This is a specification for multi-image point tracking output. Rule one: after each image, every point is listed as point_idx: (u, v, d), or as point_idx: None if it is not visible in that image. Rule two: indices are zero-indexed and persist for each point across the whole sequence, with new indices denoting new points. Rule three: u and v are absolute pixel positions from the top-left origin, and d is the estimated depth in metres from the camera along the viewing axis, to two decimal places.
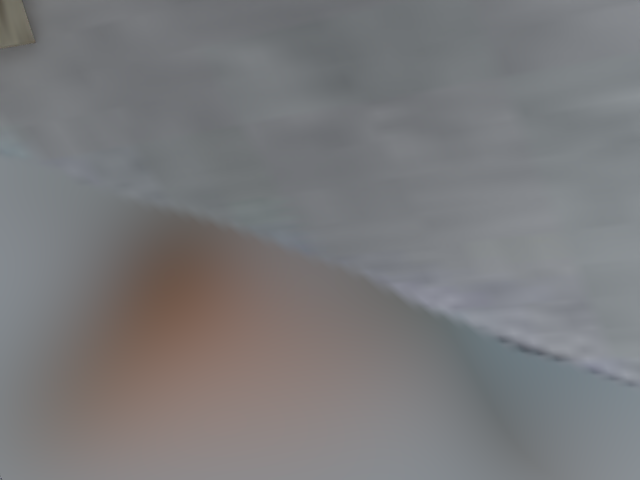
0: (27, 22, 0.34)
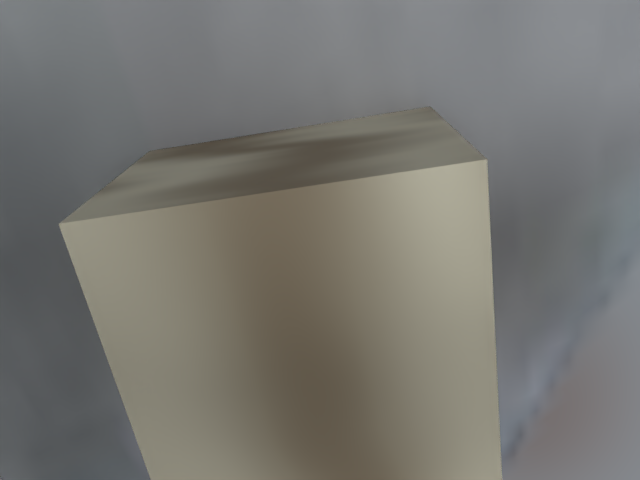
0: (388, 114, 0.15)
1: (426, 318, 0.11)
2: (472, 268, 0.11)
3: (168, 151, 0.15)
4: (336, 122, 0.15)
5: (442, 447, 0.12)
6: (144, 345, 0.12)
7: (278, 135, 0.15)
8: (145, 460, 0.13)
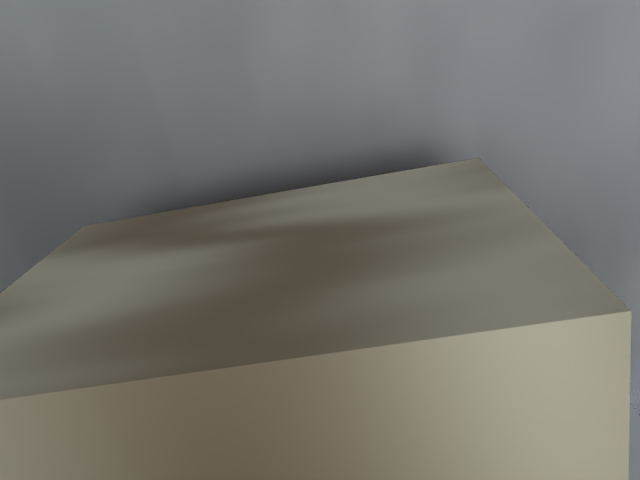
0: (419, 173, 0.10)
1: None
2: None
3: (103, 231, 0.11)
4: (343, 185, 0.11)
5: None
6: None
7: (258, 207, 0.10)
8: None
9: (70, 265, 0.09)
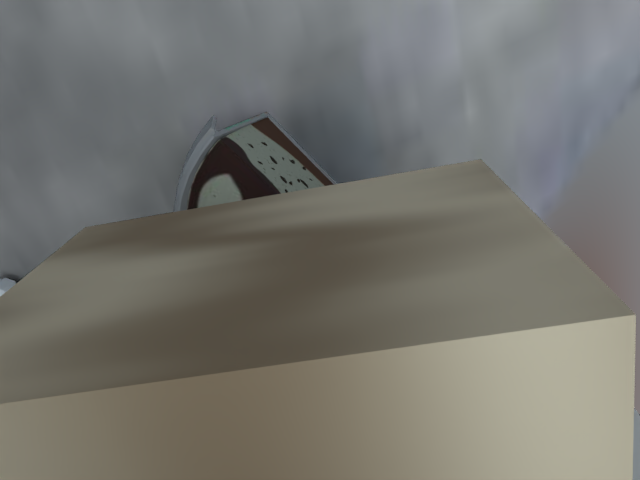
0: (420, 174, 0.10)
1: None
2: None
3: (105, 232, 0.11)
4: (345, 186, 0.11)
5: None
6: None
7: (260, 209, 0.10)
8: None
9: (71, 267, 0.09)
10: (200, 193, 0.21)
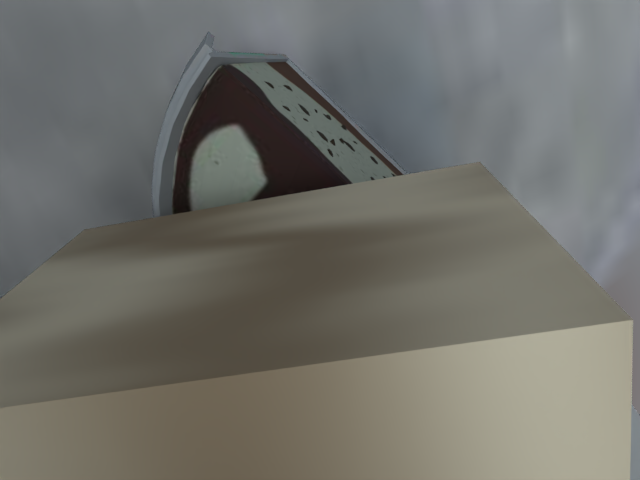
0: (419, 177, 0.10)
1: None
2: None
3: (104, 235, 0.11)
4: (344, 189, 0.11)
5: None
6: None
7: (259, 212, 0.10)
8: None
9: (71, 270, 0.09)
10: (193, 159, 0.13)
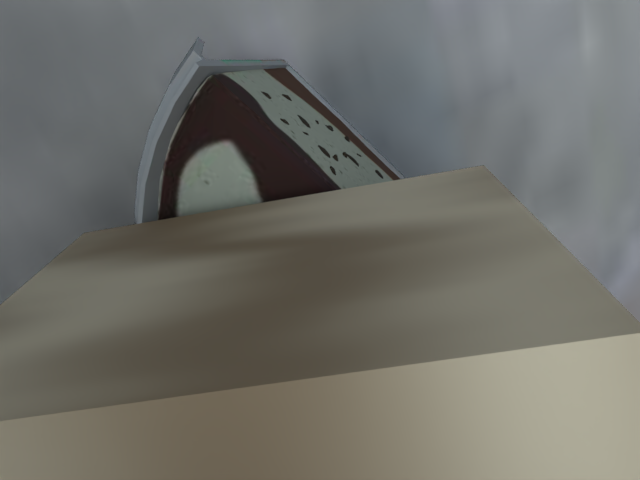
0: (423, 180, 0.10)
1: None
2: None
3: (104, 238, 0.11)
4: (347, 192, 0.11)
5: None
6: None
7: (262, 215, 0.10)
8: None
9: (71, 275, 0.09)
10: (181, 178, 0.12)
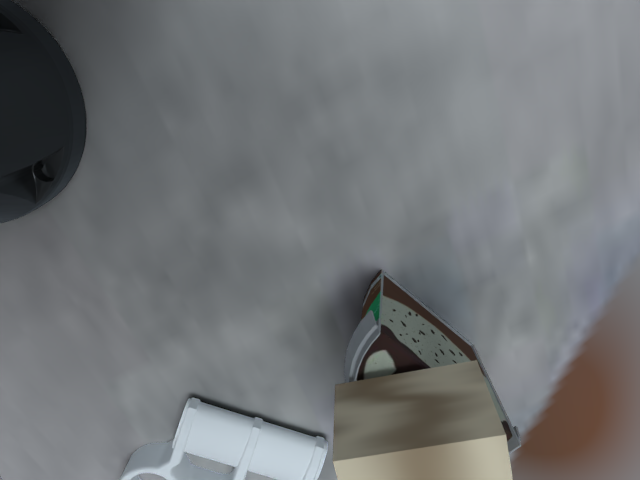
0: (456, 367, 0.31)
1: None
2: (503, 472, 0.26)
3: (347, 389, 0.31)
4: (430, 371, 0.31)
5: None
6: None
7: (402, 382, 0.30)
8: None
9: (349, 408, 0.29)
10: (366, 362, 0.32)
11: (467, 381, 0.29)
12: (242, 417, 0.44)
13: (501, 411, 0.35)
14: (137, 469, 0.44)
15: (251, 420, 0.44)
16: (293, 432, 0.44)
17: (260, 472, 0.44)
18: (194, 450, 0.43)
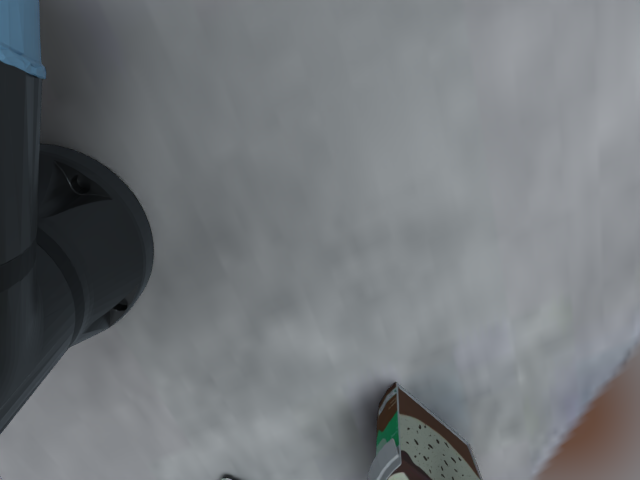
0: None
1: None
2: None
3: None
4: None
5: None
6: None
7: None
8: None
9: None
10: None
11: None
12: None
13: None
14: None
15: None
16: None
17: None
18: None
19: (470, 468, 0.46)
